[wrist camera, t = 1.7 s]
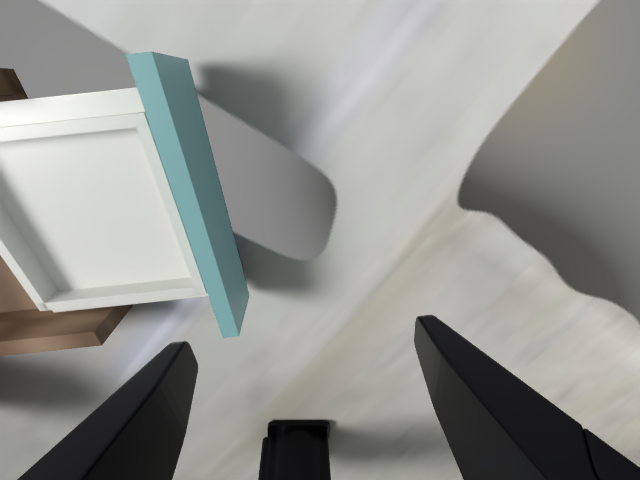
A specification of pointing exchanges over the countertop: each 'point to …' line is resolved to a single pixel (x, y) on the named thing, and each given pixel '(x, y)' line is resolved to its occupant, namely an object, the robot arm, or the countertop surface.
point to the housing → (21, 312)
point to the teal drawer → (118, 198)
